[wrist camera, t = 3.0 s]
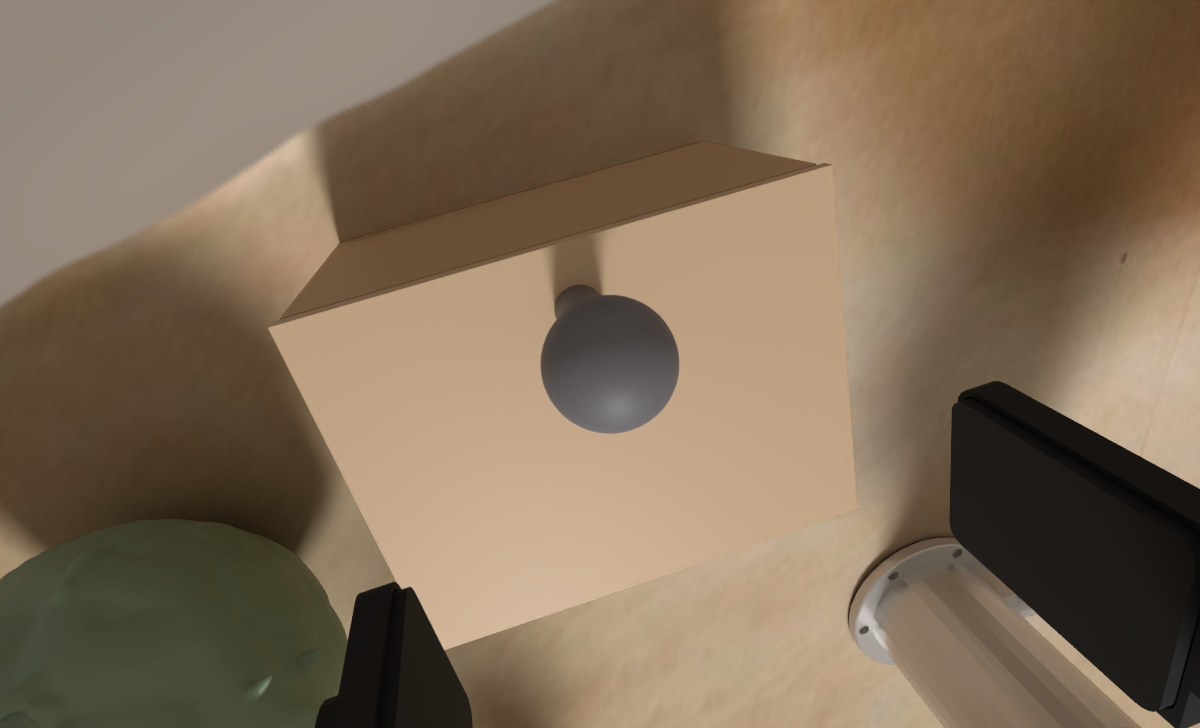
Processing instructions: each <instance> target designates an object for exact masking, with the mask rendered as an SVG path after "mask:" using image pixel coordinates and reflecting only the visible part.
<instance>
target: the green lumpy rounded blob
mask: <svg viewBox="0 0 1200 728" xmlns="http://www.w3.org/2000/svg"><path fill="white" fill-rule="evenodd" d="M347 643H348V641H347V637H346V633H345V630H344V628H343V625H342V623H341V621H340V619H339V617H338V616H337V614H336V612H335V611H334V609H333V608H332V606H331V605H330V603H329V599H328V596H327V594H326V592H325V590H324V588H323V587H322V585H321V584H320V582H319V581H318V579H317V578H316V577H315V575H314V574H313V573H312V572H311V570H310V569H309V568H308V567H307V566H306V565H305V564H304V562H303V561H302V560H301V559H300V558H299V557H298V556H297V555H296V554H294V553H293V552H292V551H290V550H289V549H287V548H285V547H283V546H281V545H279V544H278V543H276V542H274V541H272V540H270V539H268V538H265V537H263V536H260V535H257V534H254V533H250V532H247V531H244V530H241V529H238V528H235V527H233V526H230V525H227V524H223V523H218V522H203V521H192V520H185V519H159V520H149V519H143V520H138V521H134V522H129V523H123V524H120V525H116V526H112V527H108V528H103V529H99V530H95V531H92V532H89V533H86V534H83V535H81V536H79V537H76V538H74V539H71V540H68V541H66V542H63V543H61V544H58V545H56V546H53V547H51V548H50V549H48V550H46V551H44V552H42V553H41V554H39V555H37V556H35V557H33V558H31V559H29V560H27V561H25V562H24V563H23V564H21V565H20V566H19V567H17V568H16V569H14V570H12V571H11V572H9V573H8V574H6V575H5V576H3V577H2V578H1V579H0V728H315V723H316V718H317V715H318V712H319V709H320V706H321V705H322V703H323V702H324V701H325V700H326V699H329V698H331V697H334V696H337V695H338V692H339V687H340V681H341V676H342V670H343V665H344V659H345V654H346V649H347Z"/></svg>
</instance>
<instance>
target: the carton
mask: <svg viewBox="0 0 1200 728" xmlns="http://www.w3.org/2000/svg"><path fill="white" fill-rule="evenodd" d="M815 165H816V164H815V163H810V162H805V161H800V160H795V159H790V158H785V157H780V156H775V155H770V154H765V153H760V152H755V151H750V150H745V149H740V148H735V147H730V146H725V145H720V144H715V143H710V142H705V141H703V142H699V143H696V144H692V145H689V146H685V147H681V148H678V149H674V150H671V151H667V152H664V153H660V154H656V155H653V156H649V157H646V158H642V159H639V160H635V161H631V162H628V163H624V164H621V165H617V166H614V167H610V168H606V169H603V170H599V171H596V172H592V173H589V174H585V175H581V176H578V177H574V178H571V179H567V180H564V181H560V182H556V183H553V184H549V185H546V186H542V187H539V188H535V189H531V190H528V191H524V192H521V193H517V194H514V195H510V196H506V197H503V198H499V199H496V200H492V201H489V202H485V203H481V204H478V205H474V206H471V207H467V208H464V209H460V210H456V211H453V212H449V213H446V214H442V215H439V216H435V217H431V218H428V219H424V220H421V221H417V222H414V223H410V224H406V225H403V226H399V227H396V228H392V229H389V230H385V231H381V232H378V233H374V234H371V235H367V236H364V237H360V238H356V239H353V240H349V241H346V242H342V243H339V244H338V246H337V247H336V248H335V249H334V251H333V252H332V253H331V254H330V256H329V257H328V258H327V260H326V261H325V262H324V263H323V265H322V266H321V267H320V268H319V270H318V271H317V272H316V273H315V275H314V276H313V277H312V278H311V280H310V281H309V282H308V284H307V285H306V286H305V287H304V289H303V290H302V291H301V292H300V294H299V295H298V296H297V297H296V299H295V300H294V301H293V302H292V304H291V305H290V306H289V307H288V309H287V310H286V311H285V313H284V314H283V315H282V316H281V318H280V320H281V319H284V318H288V317H291V316H295V315H298V314H302V313H305V312H309V311H312V310H316V309H319V308H323V307H326V306H329V305H333V304H336V303H340V302H343V301H347V300H350V299H354V298H357V297H361V296H364V295H368V294H371V293H375V292H378V291H382V290H385V289H388V288H392V287H395V286H399V285H402V284H406V283H409V282H413V281H416V280H420V279H423V278H427V277H430V276H434V275H437V274H440V273H444V272H447V271H451V270H454V269H458V268H461V267H465V266H468V265H472V264H475V263H479V262H482V261H486V260H489V259H493V258H496V257H499V256H503V255H506V254H510V253H513V252H517V251H520V250H524V249H527V248H531V247H534V246H538V245H541V244H545V243H548V242H552V241H555V240H558V239H562V238H565V237H569V236H572V235H576V234H579V233H583V232H586V231H590V230H593V229H597V228H600V227H604V226H607V225H611V224H614V223H617V222H621V221H624V220H628V219H631V218H635V217H638V216H642V215H645V214H649V213H652V212H656V211H659V210H663V209H666V208H670V207H673V206H676V205H680V204H683V203H687V202H690V201H694V200H697V199H701V198H704V197H708V196H711V195H715V194H718V193H722V192H725V191H729V190H732V189H735V188H739V187H742V186H746V185H749V184H753V183H756V182H760V181H763V180H767V179H770V178H774V177H777V176H781V175H784V174H788V173H791V172H794V171H798V170H801V169H805V168H808V167H812V166H815Z"/></svg>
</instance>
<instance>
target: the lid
mask: <svg viewBox="0 0 1200 728" xmlns="http://www.w3.org/2000/svg"><path fill="white" fill-rule="evenodd" d="M268 329H269V331H270V333H271V335H272V337H273V339H274V341H275V343H276V345H277V347H278V349H279V351H280V353H281V355H282V357H283V359H284V361H285V363H286V365H287V367H288V369H289V371H290V373H291V375H292V377H293V379H294V381H295V383H296V385H297V387H298V389H299V390H300V392H301V394H302V396H303V398H304V400H305V402H306V404H307V406H308V408H309V410H310V412H311V414H312V416H313V418H314V420H315V422H316V424H317V426H318V428H319V430H320V432H321V434H322V436H323V438H324V440H325V442H326V444H327V446H328V448H329V450H330V452H331V454H332V456H333V458H334V460H335V462H336V464H337V466H338V468H339V470H340V472H341V473H342V475H343V477H344V479H345V481H346V483H347V485H348V487H349V489H350V491H351V493H352V495H353V497H354V499H355V501H356V503H357V505H358V507H359V509H360V511H361V513H362V515H363V517H364V519H365V521H366V523H367V525H368V527H369V529H370V531H371V533H372V535H373V537H374V539H375V541H376V543H377V545H378V547H379V549H380V551H381V553H382V555H383V556H384V558H385V560H386V562H387V564H388V566H389V568H390V570H391V572H392V574H393V576H394V578H395V580H396V582H397V584H399V586H400V587H401V589H404V588H407V587H412V588H413V590H414V591H415V593H416V595H417V597H418V599H419V601H420V603H421V605H422V607H423V609H424V611H425V613H426V615H427V617H428V619H429V621H430V623H431V625H432V627H433V629H434V631H435V633H436V635H437V637H438V639H439V641H440V643H441V645H442V647H443V649H444V650H447V649H450V648H453V647H456V646H459V645H461V644H464V643H467V642H470V641H473V640H476V639H479V638H482V637H485V636H488V635H491V634H494V633H497V632H500V631H503V630H505V629H508V628H511V627H514V626H517V625H520V624H523V623H526V622H529V621H532V620H535V619H538V618H541V617H544V616H547V615H549V614H552V613H555V612H558V611H561V610H564V609H567V608H570V607H573V606H576V605H579V604H582V603H585V602H588V601H591V600H594V599H596V598H599V597H602V596H605V595H608V594H611V593H614V592H617V591H620V590H623V589H626V588H629V587H632V586H635V585H638V584H640V583H643V582H646V581H649V580H652V579H655V578H658V577H661V576H664V575H667V574H670V573H673V572H676V571H679V570H682V569H684V568H687V567H690V566H693V565H696V564H699V563H702V562H705V561H708V560H711V559H714V558H717V557H720V556H723V555H726V554H728V553H731V552H734V551H737V550H740V549H743V548H746V547H749V546H752V545H755V544H758V543H761V542H764V541H767V540H770V539H772V538H775V537H778V536H781V535H784V534H787V533H790V532H793V531H796V530H799V529H802V528H805V527H808V526H811V525H814V524H816V523H819V522H822V521H825V520H828V519H831V518H834V517H837V516H840V515H843V514H846V513H849V512H852V511H855V510H858V506H857V492H856V479H855V465H854V451H853V437H852V424H851V410H850V396H849V382H848V368H847V355H846V341H845V327H844V313H843V300H842V286H841V272H840V258H839V245H838V231H837V217H836V203H835V190H834V176H833V165H832V164H827V163H822V164H819V165H815V166H812V167H808V168H805V169H801V170H798V171H794V172H791V173H788V174H784V175H781V176H777V177H774V178H770V179H767V180H763V181H760V182H756V183H753V184H749V185H746V186H742V187H739V188H735V189H732V190H729V191H725V192H722V193H718V194H715V195H711V196H708V197H704V198H701V199H697V200H694V201H690V202H687V203H683V204H680V205H676V206H673V207H670V208H666V209H663V210H659V211H656V212H652V213H649V214H645V215H642V216H638V217H635V218H631V219H628V220H624V221H621V222H617V223H614V224H611V225H607V226H604V227H600V228H597V229H593V230H590V231H586V232H583V233H579V234H576V235H572V236H569V237H565V238H562V239H558V240H555V241H552V242H548V243H545V244H541V245H538V246H534V247H531V248H527V249H524V250H520V251H517V252H513V253H510V254H506V255H503V256H499V257H496V258H493V259H489V260H486V261H482V262H479V263H475V264H472V265H468V266H465V267H461V268H458V269H454V270H451V271H447V272H444V273H440V274H437V275H434V276H430V277H427V278H423V279H420V280H416V281H413V282H409V283H406V284H402V285H399V286H395V287H392V288H388V289H385V290H382V291H378V292H375V293H371V294H368V295H364V296H361V297H357V298H354V299H350V300H347V301H343V302H340V303H336V304H333V305H329V306H326V307H323V308H319V309H316V310H312V311H309V312H305V313H302V314H298V315H295V316H291V317H288V318H284V319H281V320H277V321H274V322H272V323H271V324H270V326H269V327H268Z"/></svg>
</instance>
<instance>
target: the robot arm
mask: <svg viewBox="0 0 1200 728" xmlns="http://www.w3.org/2000/svg"><path fill="white" fill-rule="evenodd" d="M950 527H951V530H952V533H953V535H954V537H955V538H934V539H929V540H924V541H921V542H918V543H915V544H912V545H910V546H908V547H906V548H904V549H902V550H900V551H898V552H896V553H895V554H893V555H892V556H890V557H889V558H887V559H886V560H885V561H883V562H882V563H881V564H880V565H879V566H878V567H877V568H876V569H874V570H873V571H872V573H871V574H870V575H869V576H868V577H867V578H866V580H865V581H864V582H863V584H862V585H861V587H860V588H859V590H858V592H857V593H856V596H855V598H854V600H853V603H852V605H851V609H850V614H849V629H850V632H851V635H852V638H853V639H854V641H855V642H856V644H857V645H858V647H859V648H860V650H861V651H862V652H863V653H864V654H865V655H866V656H867V657H869V658H871V659H872V660H874V661H876V662H879V663H883V664H888V665H896V666H897V667H898V668H899V670H900V671H901V672H902V674H903V675H904V676H905V677H906V679H907V680H908V681H909V683H910V684H911V685H912V687H913V688H914V689H915V691H916V692H917V693H918V695H919V696H920V697H921V698H922V700H923V701H924V702H925V704H926V705H927V706H928V708H929V709H930V710H931V712H932V713H933V714H934V715H935V717H936V718H937V719H938V721H939V722H940V723H941V725H942V726H943V727H944V728H1141V727H1140V726H1139V725H1138V724H1137V723H1135V722H1134V721H1133V720H1132V719H1131V718H1130V717H1129V716H1128V715H1127V714H1126V713H1125V712H1124V711H1123V710H1122V709H1121V708H1119V707H1118V706H1117V705H1116V704H1115V703H1114V702H1113V701H1112V700H1111V699H1110V698H1109V697H1108V696H1107V695H1106V694H1104V693H1103V692H1102V691H1101V690H1100V689H1099V688H1098V687H1097V686H1096V685H1095V684H1094V683H1093V682H1092V681H1091V680H1089V679H1088V678H1087V677H1086V676H1085V675H1084V674H1083V673H1082V672H1081V671H1080V670H1079V669H1078V668H1077V667H1076V666H1075V665H1073V664H1072V663H1071V662H1070V661H1069V660H1068V659H1067V658H1066V657H1065V656H1064V655H1063V654H1062V653H1061V652H1060V651H1058V650H1057V649H1056V648H1055V647H1054V646H1053V645H1052V644H1051V643H1050V642H1049V641H1048V640H1047V639H1046V638H1045V637H1044V636H1042V635H1041V634H1040V633H1039V632H1038V631H1037V630H1036V629H1035V628H1034V627H1033V626H1032V625H1031V624H1030V623H1029V622H1027V621H1026V620H1025V619H1024V618H1025V617H1028V616H1034V615H1037V614H1038V615H1039V616H1040V617H1041V618H1042V619H1043V620H1045V621H1046V622H1047V623H1048V624H1049V625H1050V626H1051V627H1052V628H1053V629H1055V630H1056V631H1057V632H1058V633H1059V634H1060V635H1061V636H1062V637H1063V638H1064V639H1066V640H1067V641H1068V642H1069V643H1070V644H1071V645H1072V646H1073V647H1074V648H1076V649H1077V650H1078V651H1079V652H1080V653H1081V654H1082V655H1083V656H1084V657H1085V658H1087V659H1088V660H1089V661H1090V662H1091V663H1092V664H1093V665H1094V666H1095V667H1097V668H1098V669H1099V670H1100V671H1101V672H1102V673H1103V674H1104V675H1105V676H1106V677H1108V678H1109V679H1110V680H1111V681H1112V682H1113V683H1114V684H1115V685H1116V686H1118V687H1119V688H1120V689H1121V690H1122V691H1123V692H1124V693H1125V694H1126V695H1127V696H1129V697H1130V698H1131V699H1132V700H1133V701H1134V702H1135V703H1137V704H1138V705H1139V706H1141V707H1142V708H1144V709H1146V710H1148V711H1153V712H1155V711H1156V712H1157V713H1159V714H1160V715H1161V716H1162V717H1163V718H1164V719H1165V720H1166V721H1168V722H1169V723H1170V724H1171V725H1172V726H1173V727H1174V728H1188V727H1190V726H1193V725H1195V724H1198V723H1200V489H1199V488H1197V487H1195V486H1193V485H1191V484H1190V483H1188V482H1186V481H1184V480H1182V479H1180V478H1179V477H1177V476H1175V475H1173V474H1171V473H1169V472H1167V471H1166V470H1164V469H1162V468H1160V467H1158V466H1156V465H1155V464H1153V463H1151V462H1149V461H1147V460H1145V459H1143V458H1142V457H1140V456H1138V455H1136V454H1134V453H1132V452H1131V451H1129V450H1127V449H1125V448H1123V447H1121V446H1119V445H1118V444H1116V443H1114V442H1112V441H1110V440H1108V439H1107V438H1105V437H1103V436H1101V435H1099V434H1097V433H1095V432H1094V431H1092V430H1090V429H1088V428H1086V427H1084V426H1083V425H1081V424H1079V423H1077V422H1075V421H1073V420H1071V419H1070V418H1068V417H1066V416H1064V415H1062V414H1060V413H1059V412H1057V411H1055V410H1053V409H1051V408H1049V407H1047V406H1046V405H1044V404H1042V403H1040V402H1038V401H1036V400H1035V399H1033V398H1031V397H1029V396H1027V395H1025V394H1023V393H1022V392H1020V391H1018V390H1016V389H1014V388H1012V387H1011V386H1009V385H1007V384H1005V383H1002V382H1000V381H993V382H990V383H987V384H984V385H981V386H978V387H975V388H972V389H969V390H966V391H964V392H962V393H961V394H960V396H959V397H958V403H956V404H954V406H953V408H952V431H951V480H950ZM315 728H472V714H471V708H470V704H469V700H468V697H467V695H466V693H465V691H464V689H463V687H462V685H461V683H460V681H459V679H458V677H457V675H456V673H455V671H454V669H453V667H452V665H451V663H450V661H449V659H448V657H447V655H446V653H445V651H444V649H443V647H442V645H441V643H440V641H439V639H438V637H437V635H436V633H435V631H434V629H433V627H432V625H431V623H430V621H429V619H428V617H427V615H426V613H425V611H424V609H423V607H422V605H421V603H420V601H419V599H418V597H417V595H416V593H415V591H414V590H413V588H412V587H407V588H404V589H401V587H400V586H399V584H397V583H396V582H392V583H389V584H386V585H383V586H380V587H377V588H374V589H371V590H368V591H365V592H362V593H359V594H358V596H357V597H356V601H355V605H354V611H353V616H352V621H351V627H350V632H349V638H348V643H347V649H346V654H345V659H344V665H343V670H342V676H341V681H340V687H339V692H338V695H337V696H334V697H331V698H329V699H326V700H325V701H324V702H323V703H322V705H321V706H320V709H319V712H318V715H317V718H316V723H315Z"/></svg>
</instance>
